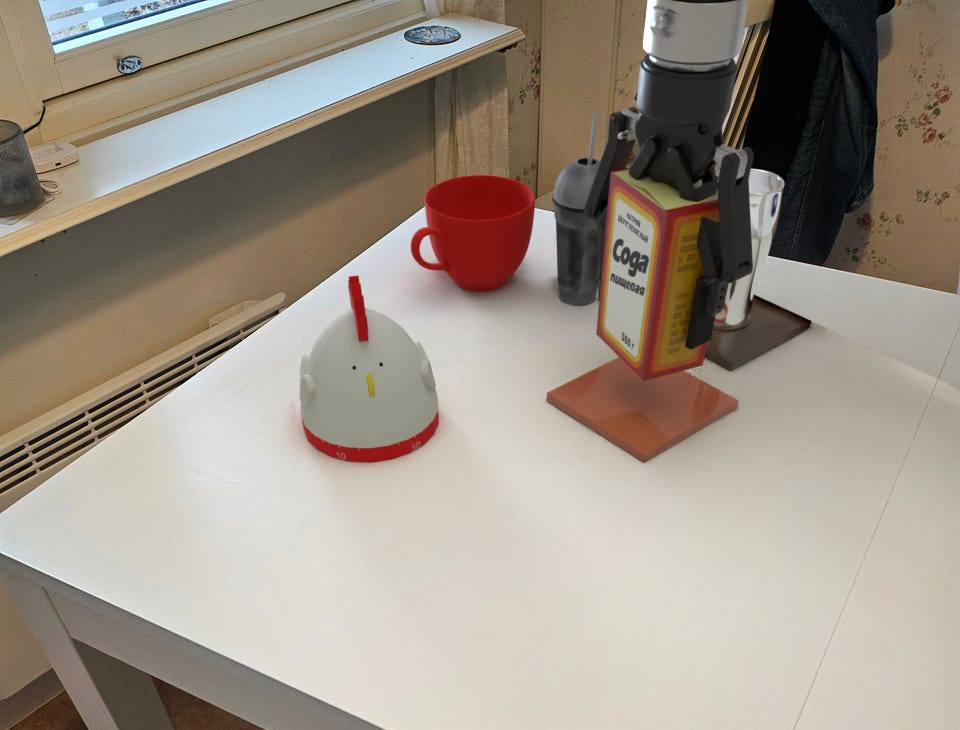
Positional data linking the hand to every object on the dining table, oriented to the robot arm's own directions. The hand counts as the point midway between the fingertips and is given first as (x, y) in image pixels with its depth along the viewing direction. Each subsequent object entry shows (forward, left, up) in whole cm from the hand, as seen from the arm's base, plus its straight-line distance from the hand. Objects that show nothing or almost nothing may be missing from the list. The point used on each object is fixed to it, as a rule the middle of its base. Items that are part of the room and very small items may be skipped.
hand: (652, 319), depth 87 cm
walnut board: (+5, -19, -10) cm, 22 cm away
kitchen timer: (+16, +23, -10) cm, 30 cm away
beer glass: (+5, -19, -9) cm, 21 cm away
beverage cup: (+21, -11, -10) cm, 26 cm away
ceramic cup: (+32, -3, -10) cm, 34 cm away
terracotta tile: (0, 0, -9) cm, 9 cm away
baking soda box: (0, 0, -3) cm, 3 cm away
